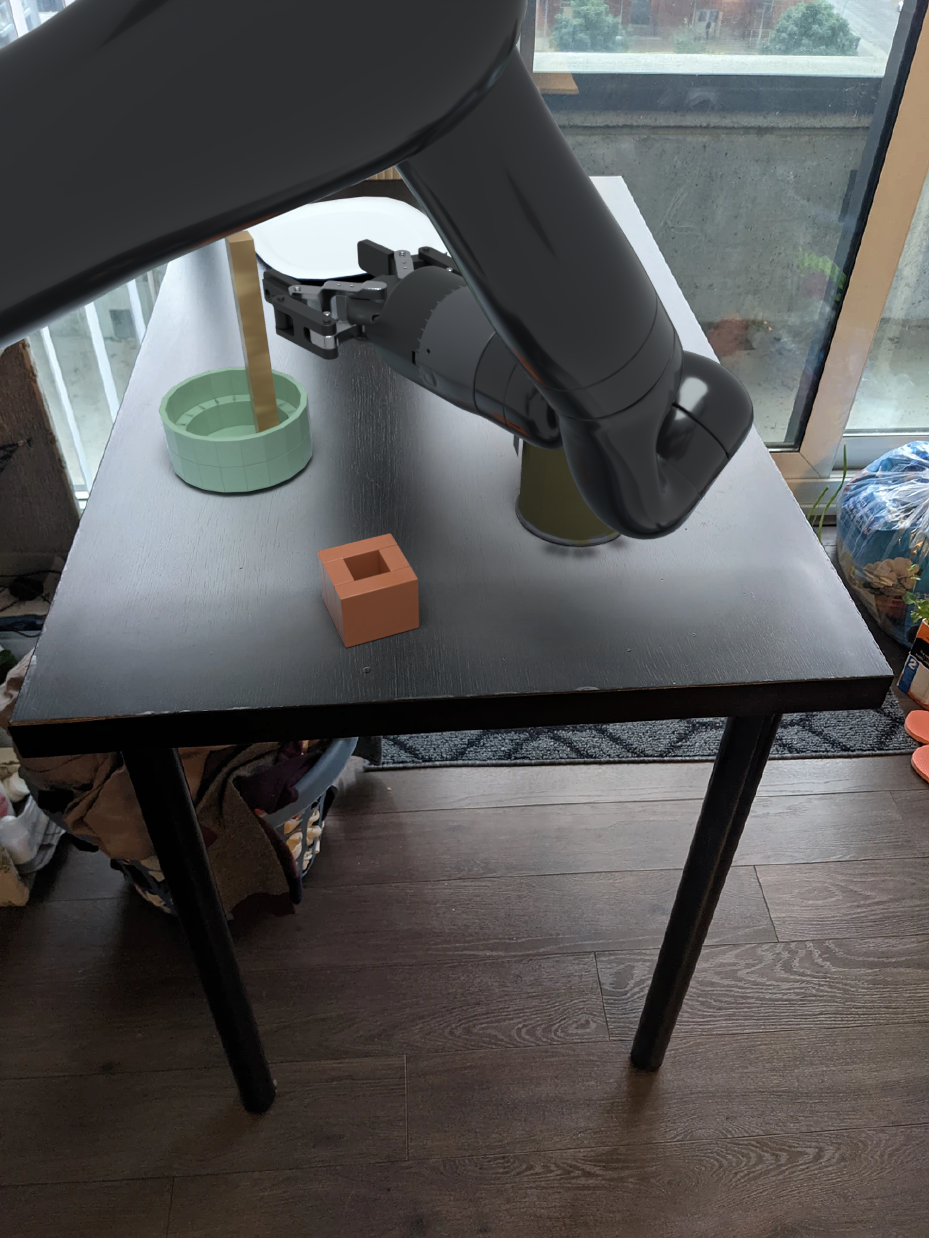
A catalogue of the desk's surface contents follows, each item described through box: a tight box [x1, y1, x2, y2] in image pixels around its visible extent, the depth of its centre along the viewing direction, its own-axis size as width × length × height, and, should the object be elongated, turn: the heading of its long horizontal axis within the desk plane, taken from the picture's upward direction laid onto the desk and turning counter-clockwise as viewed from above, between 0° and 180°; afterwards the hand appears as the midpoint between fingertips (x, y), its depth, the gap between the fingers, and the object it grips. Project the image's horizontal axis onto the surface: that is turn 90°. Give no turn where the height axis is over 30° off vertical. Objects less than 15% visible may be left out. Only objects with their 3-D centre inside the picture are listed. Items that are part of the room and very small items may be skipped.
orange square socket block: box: [316, 532, 420, 649], centre depth 73 cm, size 6×6×5 cm
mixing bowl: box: [158, 366, 314, 493], centre depth 88 cm, size 13×13×6 cm
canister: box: [512, 435, 621, 547], centre depth 78 cm, size 11×10×20 cm
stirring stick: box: [223, 230, 279, 433], centre depth 84 cm, size 2×2×20 cm
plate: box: [243, 196, 448, 282], centre depth 128 cm, size 25×25×2 cm
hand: (315, 267), depth 71 cm, fingers open, 8 cm apart
